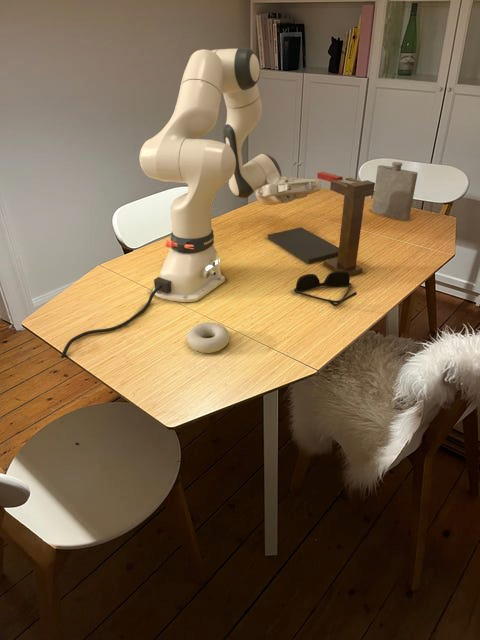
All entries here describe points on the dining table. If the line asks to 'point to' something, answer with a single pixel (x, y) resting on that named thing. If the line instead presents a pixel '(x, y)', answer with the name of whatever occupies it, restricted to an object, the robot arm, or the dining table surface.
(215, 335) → the donut
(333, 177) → the knife
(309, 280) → the sunglasses
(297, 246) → the cutting board
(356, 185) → the wooden post stand
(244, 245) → the dining table surface
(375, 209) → the hip flask
